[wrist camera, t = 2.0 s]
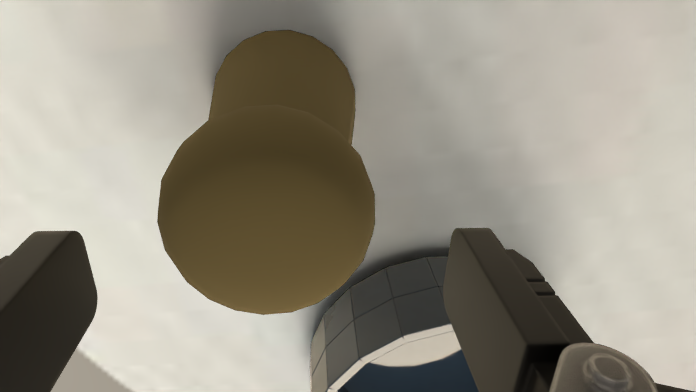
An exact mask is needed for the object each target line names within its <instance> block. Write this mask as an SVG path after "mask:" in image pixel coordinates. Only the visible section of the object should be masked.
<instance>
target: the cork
mask: <svg viewBox="0 0 696 392" xmlns="http://www.w3.org/2000/svg"><path fill="white" fill-rule="evenodd" d="M354 118H355V89H354V86H353V83H352V81H351V78H350V75H349V72H348V70H347V68H346V66H345V65H344V64H343V62H342V61H341V60H340V59H339V57H338V56H337V55H336V54H335V52H334V51H333V50H332V49H331V48H329V47H328V46H326V45H325V44H323V43H322V42H320V41H319V40H317V39H316V38H314V37H313V36H309V35H305V34H302V33H298V32H295V31H291V30H281V31H265V32H263V33H260V34H258V35H255V36H253V37H250V38H248V39H246V40H243V41H242V42H241V43H240V44H239V45H238V46H237V47H236V48H235V49H233V50H232V51H231V52H230V53H229V54H228V55H227V56H226V58H225V60H224V61H223V63H222V65H221V67H220V69H219V71H218V73H217V74H216V78H215V84H214V90H213V96H212V102H211V108H210V114H209V120H208V121H207V122H206V123H205V124H204V125H202V126H201V127H200V128H199V129H198V130H197V131H196V132H194V133H193V134H192V135H191V136H190V137H189V138H187V139H186V140H185V141H184V142H183V143H182V145H181V146H180V147H179V149H178V150H177V152H176V154H175V155H174V157H173V159H172V161H171V163H170V165H169V167H168V168H167V170H166V172H165V174H164V176H163V178H162V180H161V189H160V198H159V207H158V221H157V222H158V226H159V230H160V233H161V237H162V241H163V244H164V248H165V251H166V252H167V254H168V255H169V257H170V258H171V260H172V261H173V263H174V264H175V265H176V267H177V268H178V270H179V271H180V273H181V274H182V276H183V277H184V278H185V280H186V281H187V282H188V283H189V284H190V285H191V286H193V287H194V288H195V289H197V290H198V291H199V292H200V293H202V294H203V295H204V296H205V297H207V298H208V299H210V300H212V301H214V302H217V303H219V304H221V305H224V306H226V307H229V308H231V309H233V310H237V311H243V312H250V313H256V314H263V315H265V314H276V313H288V312H293V311H296V310H299V309H302V308H305V307H308V306H311V305H314V304H317V303H318V302H320V301H321V300H323V299H324V298H326V297H327V296H329V295H330V294H332V293H333V292H335V291H336V290H337V289H339V288H340V287H341V286H342V285H343V284H344V283H345V282H346V281H347V280H348V279H349V278H350V276H351V275H352V274H353V273H354V271H355V270H356V269H357V268H358V266H359V265H360V264H361V263H362V261H363V260H364V257H365V254H366V252H367V249H368V246H369V243H370V240H371V237H372V235H373V230H374V225H375V194H374V191H373V188H372V185H371V182H370V179H369V177H368V174H367V171H366V169H365V166H364V164H363V161H362V159H361V156H360V155H359V154H358V152H357V151H356V150H355V149H354V148H353V147H352V136H353V127H354Z"/></svg>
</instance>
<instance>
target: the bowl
mask: <svg viewBox="0 0 696 392" xmlns="http://www.w3.org/2000/svg"><path fill="white" fill-rule="evenodd" d="M447 260H448V256H446V257H423V258H419V259H415V260H412V261H408V262H404V263H400V264H397V265H393V266H389V267H386V269H385V268H384V269H382V270H380V271H378V272H377V273H375V274H373V275H371V276H369V277H368V278H366V279H364V280H362V281H361V282H359V283H357V284H355V285H354V286H352V287H351V288H349V289H348V290H347V291H346V292H345V293H344V294H343V295H342V296H341V297H340V298H339V299H338V300H337V301H336V302H335V303H334V304H333V305H332V306H331V307H330V308H329V309H328V310H327V311H326V312H325V314H324V315H323V317H322V320H321V322H320V324H319V326H318V328H317V330H316V333H315V335H314V337H313V339H312V341H311V360H310V390H311V392H479V391H478V388H477V386H476V384H475V381H474V379H473V376H472V374H471V371H470V369H469V366H468V364H467V362H466V359H465V357H464V354H463V352H462V349H461V347H460V344H459V342H458V339H457V337H456V335H455V332H454V330H453V327H452V325H451V322H450V320H449V317H448V315H447V312H446V309H445V305H444V299H443V284H444V278H445V272H446V266H447Z"/></svg>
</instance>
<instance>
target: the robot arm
mask: <svg viewBox="0 0 696 392" xmlns="http://www.w3.org/2000/svg"><path fill="white" fill-rule="evenodd" d="M443 299H444V305H445V309H446V312H447V315H448V317H449V320H450V322H451V325H452V327H453V330H454V332H455V335H456V337H457V339H458V342H459V344H460V347H461V349H462V352H463V354H464V357H465V359H466V362H467V364H468V366H469V369H470V371H471V374H472V376H473V379H474V381H475V384H476V386H477V388H478V391H479V392H694V391H689V390H685V389H680V388H675V387H671V386H666V385H661V384H657V383H654V381H653V379H652V378H651V376H650V375H649V374H648V373H647V371H646V370H645V369H644V368H643V367H642V366H640V365H639V364H638V363H637V362H635V361H634V360H633V359H631V358H630V357H628V356H627V355H625V354H623V353H621V352H619V351H617V350H615V349H612V348H610V347H607V346H604V345H600V344H595V343H593V341H592V340H591V339H590V337H589V336H588V335H587V334H586V332H585V331H584V330H583V328H582V327H581V326H580V324H579V323H578V322H577V320H576V319H575V318H574V316H573V315H572V314H571V313H570V311H569V310H568V309H567V307H566V306H565V305H564V303H563V302H562V301H561V299H560V298H559V297H558V296H555V292H554V290H553V289H552V288H551V286H550V285H549V284H548V282H545V278H544V277H543V276H542V275H541V273H540V272H539V271H538V269H537V268H536V267H535V265H534V264H533V263H532V262H531V261H529V260H528V259H526V258H525V257H523V256H522V255H521V254H519V253H518V252H516V251H515V250H513V249H511V250H505V248H504V247H503V246H502V244H501V243H500V241H499V240H498V238H497V237H496V236H495V234H494V233H493V231H492V230H491V229H490V228H456V229H455V230H454V231H453V233H452V236H451V242H450V248H449V254H448V260H447V266H446V272H445V278H444V284H443ZM96 308H97V290H96V286H95V282H94V278H93V274H92V271H91V267H90V263H89V259H88V255H87V251H86V247H85V243H84V240H83V238H82V236H81V234H80V233H79V232H77V231H37V232H34V233H33V234H31V235H30V236H29V237H28V238H27V239H26V240H25V241H24V242H23V243H22V244H21V245H20V246H19V247H18V248H17V249H16V250H15V251H14V252H13V253H12V254H11V255H10V256H5V257H3V258H1V259H0V392H50V391H51V390H52V388H53V386H54V385H55V383H56V381H57V379H58V378H59V376H60V374H61V373H62V371H63V369H64V368H65V366H66V364H67V362H68V361H69V359H70V358H71V356H72V354H73V352H74V351H75V349H76V347H77V346H78V344H79V342H80V341H81V339H82V337H83V336H84V334H85V332H86V331H87V329H88V327H89V325H90V324H91V322H92V320H93V318H94V315H95V312H96Z"/></svg>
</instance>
